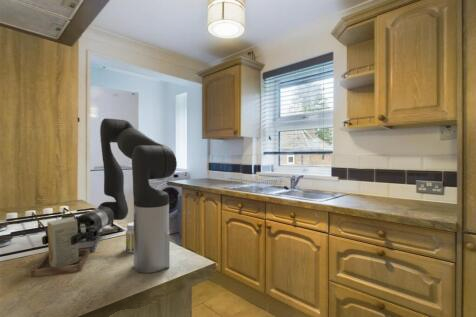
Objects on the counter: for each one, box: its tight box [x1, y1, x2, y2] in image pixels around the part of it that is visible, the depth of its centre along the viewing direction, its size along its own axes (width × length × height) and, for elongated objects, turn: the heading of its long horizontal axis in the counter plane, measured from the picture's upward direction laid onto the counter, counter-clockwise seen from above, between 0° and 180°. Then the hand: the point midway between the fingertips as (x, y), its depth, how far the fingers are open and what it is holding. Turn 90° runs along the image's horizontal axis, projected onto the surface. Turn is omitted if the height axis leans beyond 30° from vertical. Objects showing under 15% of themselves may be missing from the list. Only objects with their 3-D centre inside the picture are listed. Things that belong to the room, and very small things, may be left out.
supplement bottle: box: [125, 221, 134, 253], centre depth 83 cm, size 5×5×8 cm
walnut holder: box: [30, 248, 91, 278], centre depth 73 cm, size 11×12×2 cm
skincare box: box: [46, 216, 80, 268], centre depth 72 cm, size 6×4×12 cm
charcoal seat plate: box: [78, 235, 101, 253], centre depth 85 cm, size 11×11×1 cm
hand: (58, 241), depth 70 cm, fingers closed on skincare box, 7 cm apart
